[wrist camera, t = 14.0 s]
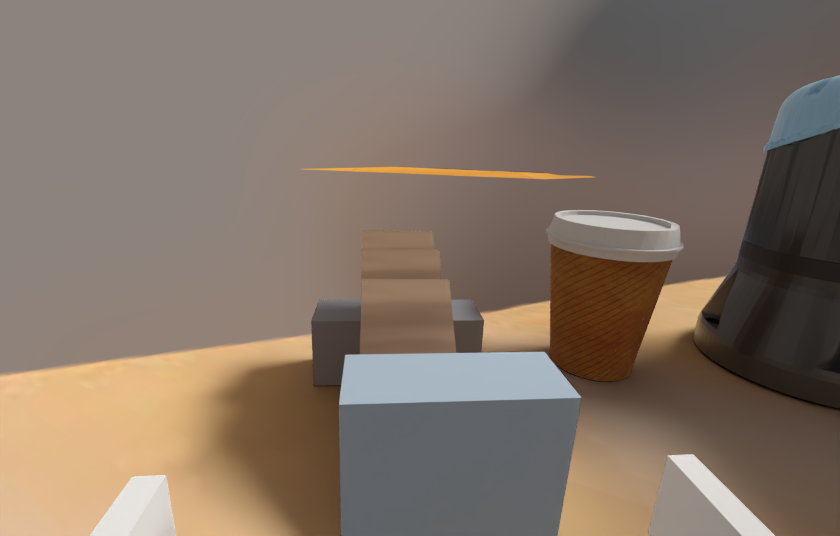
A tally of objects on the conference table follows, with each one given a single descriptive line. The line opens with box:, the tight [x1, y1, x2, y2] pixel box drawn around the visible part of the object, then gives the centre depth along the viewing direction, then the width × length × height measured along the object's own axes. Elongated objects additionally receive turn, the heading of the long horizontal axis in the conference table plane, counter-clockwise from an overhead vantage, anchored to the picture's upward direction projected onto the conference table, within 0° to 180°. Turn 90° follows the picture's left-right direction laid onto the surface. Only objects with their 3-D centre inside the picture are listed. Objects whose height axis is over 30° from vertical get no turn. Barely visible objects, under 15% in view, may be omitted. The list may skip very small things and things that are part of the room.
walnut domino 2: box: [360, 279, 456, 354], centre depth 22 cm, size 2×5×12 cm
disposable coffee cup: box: [546, 210, 684, 381], centre depth 33 cm, size 10×10×12 cm
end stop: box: [311, 300, 484, 386], centre depth 32 cm, size 4×12×5 cm, turn 96°
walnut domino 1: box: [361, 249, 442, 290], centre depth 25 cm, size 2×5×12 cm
